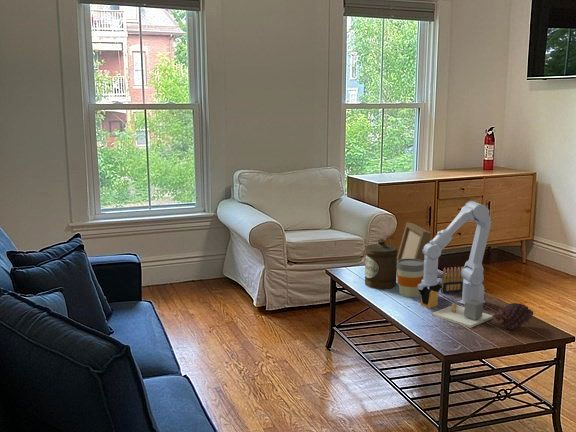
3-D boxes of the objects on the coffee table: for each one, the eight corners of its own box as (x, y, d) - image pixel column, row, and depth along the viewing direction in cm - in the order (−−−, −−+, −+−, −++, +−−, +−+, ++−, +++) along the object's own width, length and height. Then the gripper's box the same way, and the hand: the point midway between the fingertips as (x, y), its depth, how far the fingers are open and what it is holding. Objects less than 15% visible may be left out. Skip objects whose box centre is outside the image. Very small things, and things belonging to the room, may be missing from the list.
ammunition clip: (461, 290, 281) (463, 265, 279) (463, 291, 279) (465, 266, 277) (440, 292, 278) (441, 267, 276) (442, 293, 277) (443, 268, 274)
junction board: (454, 306, 260) (455, 289, 258) (492, 318, 246) (493, 300, 245) (431, 315, 249) (432, 297, 248) (470, 327, 236) (471, 309, 235)
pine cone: (523, 320, 244) (525, 296, 242) (541, 329, 235) (544, 304, 233) (487, 326, 238) (488, 301, 236) (503, 335, 229) (505, 310, 227)
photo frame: (409, 282, 292) (412, 231, 287) (393, 270, 313) (396, 222, 308) (438, 281, 295) (441, 230, 290) (421, 269, 316) (423, 221, 311)
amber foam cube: (427, 302, 265) (428, 289, 263) (437, 305, 261) (438, 292, 260) (420, 305, 261) (421, 291, 260) (430, 308, 258) (430, 294, 256)
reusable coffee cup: (411, 300, 267) (413, 267, 264) (389, 293, 277) (390, 261, 274) (429, 294, 275) (431, 262, 272) (407, 287, 285) (409, 256, 282)
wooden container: (360, 280, 296) (361, 236, 291) (389, 279, 299) (391, 235, 294) (370, 290, 282) (371, 243, 277) (401, 288, 284) (402, 242, 280)
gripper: (433, 266, 266) (431, 296, 268) (412, 272, 256) (410, 303, 259) (446, 270, 261) (445, 300, 263) (426, 276, 251) (424, 307, 254)
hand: (429, 302), depth 261 cm, fingers closed on amber foam cube, 5 cm apart
